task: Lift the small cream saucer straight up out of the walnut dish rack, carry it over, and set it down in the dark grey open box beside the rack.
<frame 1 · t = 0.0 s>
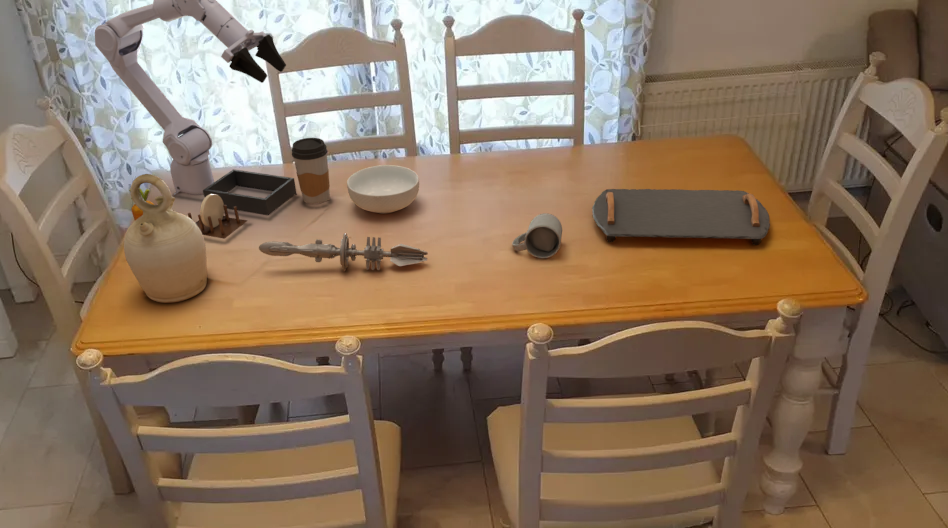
hand: (274, 73, 185), 32 cm above the table, tool tilted 50°, fingers open, 7 cm apart
dark grey open box: (252, 203, 206), on the table
coffee cup: (317, 203, 205), on the table
cereal bowl: (385, 207, 202), on the table
carrot: (155, 250, 189), on the table
saucer: (215, 225, 194), point 1 cm above the table, touching dish rack
dish rack: (216, 230, 195), on the table
jug: (176, 288, 175), on the table
spaceship: (346, 269, 179), on the table
ceramic mug: (537, 250, 183), on the table
serving tray: (678, 223, 191), on the table
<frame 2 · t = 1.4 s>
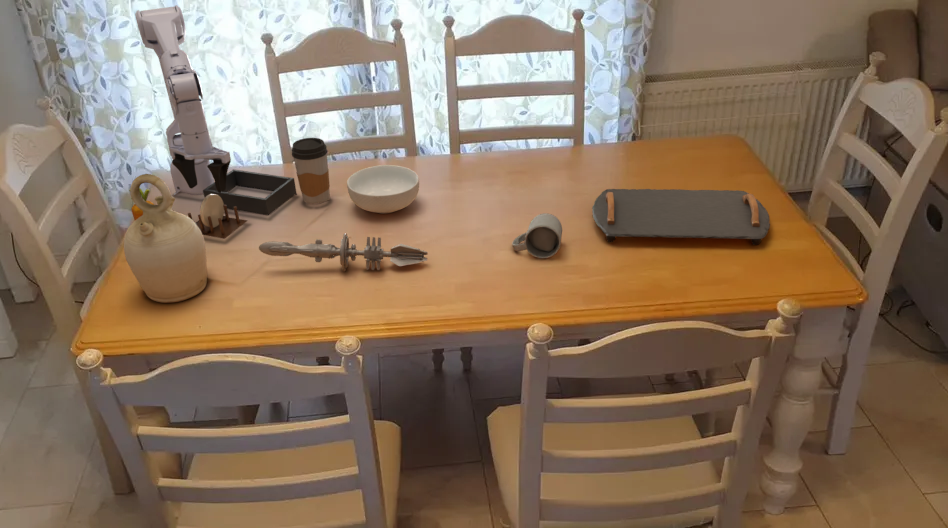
hand: (207, 188, 189), 10 cm above the table, tool pointing down, fingers open, 7 cm apart
nothing on the table moved.
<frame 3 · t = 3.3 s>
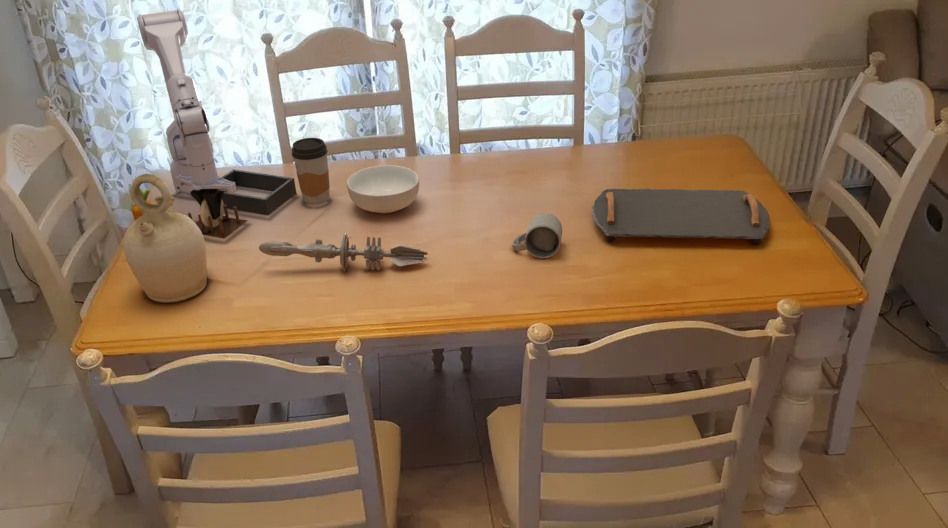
hand: (213, 217, 193), 3 cm above the table, tool pointing down, fingers closed on saucer, 1 cm apart
saucer: (215, 225, 194), point 1 cm above the table, touching dish rack, gripper
everything else where it was.
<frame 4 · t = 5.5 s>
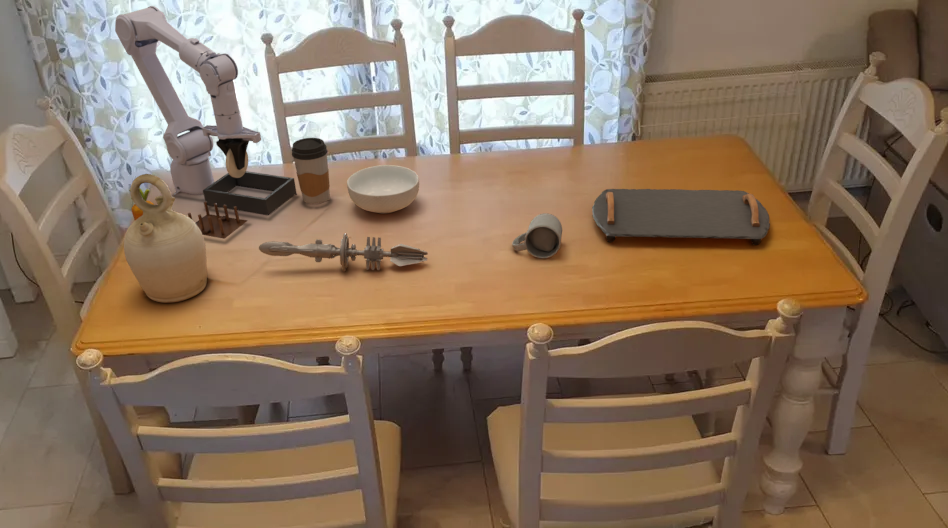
hand: (238, 167, 198), 10 cm above the table, tool pointing down, fingers closed on saucer
saucer: (240, 176, 199), point 8 cm above the table, touching gripper
everything else where it was.
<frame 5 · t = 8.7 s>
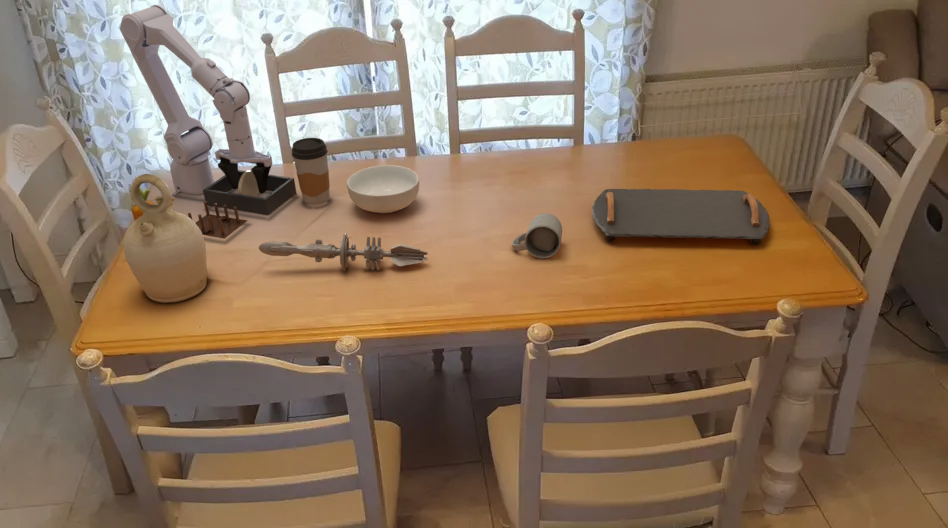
hand: (249, 189, 204), 4 cm above the table, tool pointing down, fingers open, 7 cm apart
saucer: (252, 201, 206), point 1 cm above the table, touching dark grey open box
everything else where it was.
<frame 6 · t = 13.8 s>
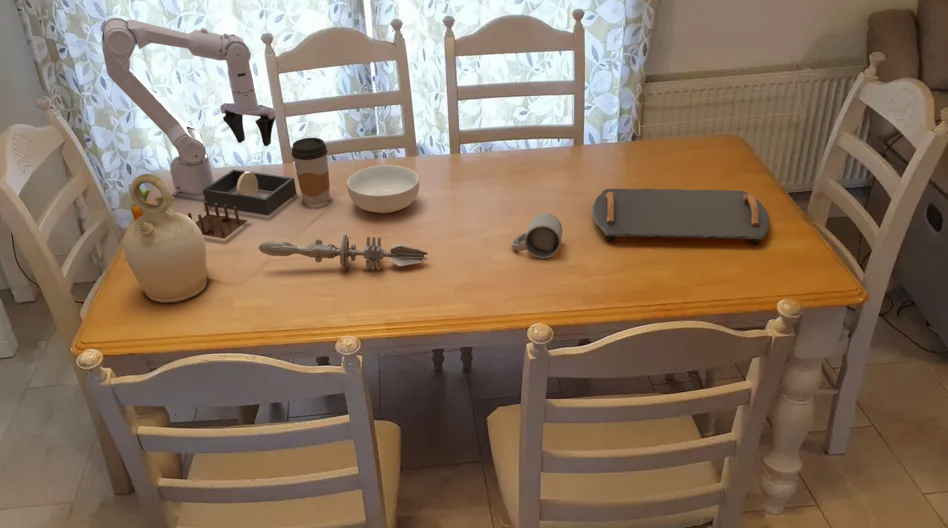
hand: (254, 143, 210), 10 cm above the table, tool pointing down, fingers open, 7 cm apart
saucer: (252, 200, 206), point 1 cm above the table, tilted 12°, touching dark grey open box
everything else where it was.
at the end: saucer inside the target area in the dark grey open box (0.0 cm from its centre), point 0.7 cm above the dark grey open box's base; the gripper is holding nothing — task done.
